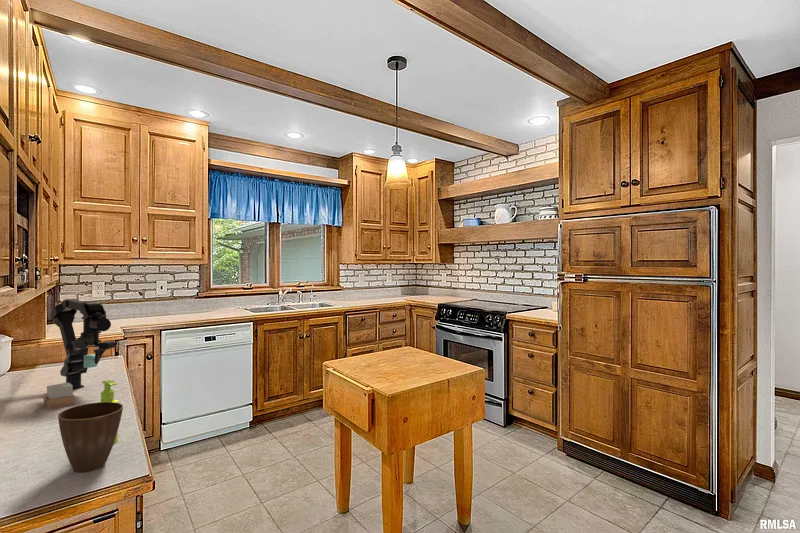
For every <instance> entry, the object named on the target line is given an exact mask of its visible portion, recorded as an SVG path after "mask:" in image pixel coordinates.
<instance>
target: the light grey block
mask: <svg viewBox="0 0 800 533" xmlns="http://www.w3.org/2000/svg"><path fill="white" fill-rule="evenodd" d="M73 390H74V389H73V385H71V384H70V383H69V382H68V383H66V382H62V383H56V384H50V385H46V396H48V397H49V398H50V399H55V398H60V397H66V396H72V395H73V392H74V391H73Z"/></svg>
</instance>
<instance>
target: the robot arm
mask: <svg viewBox="0 0 800 533" xmlns="http://www.w3.org/2000/svg"><path fill="white" fill-rule="evenodd" d="M78 311H79V313H80V314H81V315H82V317H81V320H83V321H82V322H83V324H82V325H83V329H82V332H80V336H79V337H78V338H77V336H76V333H75V330H74V326H73V322H74V320H75V318H76V317H75V316H76V314H77V313H78ZM50 318H51V319H52V322H53V324H54V325H56V327H58V328H59V331H60V334H61V339H62V343H63V345H64V347H63V348H64V350H65V354H66V356H65V358H64V361H63V366H62V368H61V369H60V371H59V373H60V376H61V377H65V383H68V382H69V383H70V384H71V385H73V390H74V389H79V388H84V387H85V385H83V384H82V374H87V372H88V369H89V368H84V356H85V355H89V354H88V353H89V348H96V349H93V352H94V354H95V364H97V365H98V364H99V362H100V361H101V359H102V356H103V355H104V353H105V352H106V351H107V350H111V349H114V348H117V346H116V345H117V344H116V342H115V340H111V341H110V340H106V341H102V339H99V338H100V334H101V333H102V332H106V331H109V329H110V328H111V326H112V323H111V320H110V319H108V318H107V312H106V309H105V308H104V305H103V304H102V302H101V301H84V300H79V299H77V298H67V299H66V298H65V299H63V300H62V301H61V302H60V303H59V304H58V305H55V306H54V307H53V308H52V310H51V312H50Z"/></svg>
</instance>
